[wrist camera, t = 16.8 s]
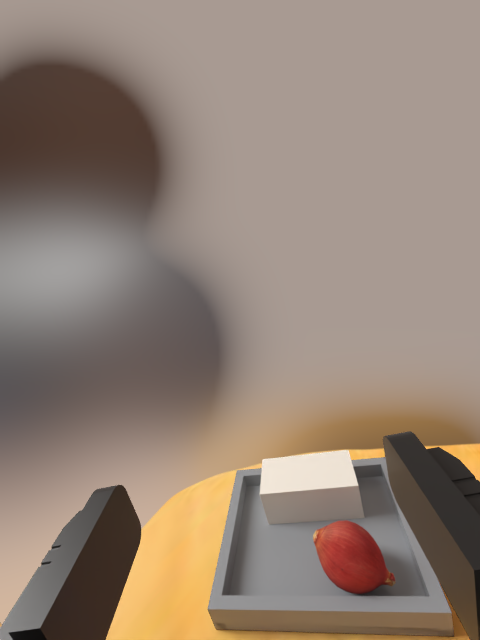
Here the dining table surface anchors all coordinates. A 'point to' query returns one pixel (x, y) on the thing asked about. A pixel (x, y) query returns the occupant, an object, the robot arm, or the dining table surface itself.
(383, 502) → the tray
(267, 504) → the white box
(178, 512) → the dining table surface
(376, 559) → the onion
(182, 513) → the dining table surface
